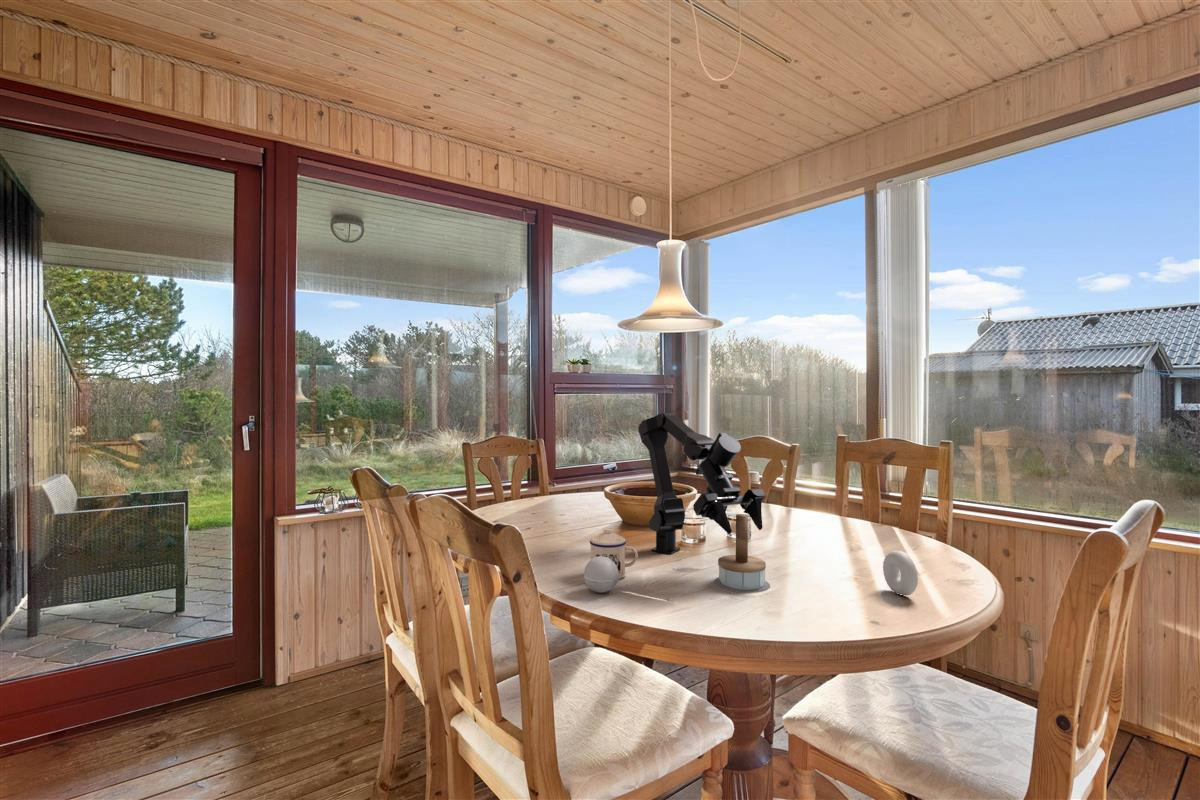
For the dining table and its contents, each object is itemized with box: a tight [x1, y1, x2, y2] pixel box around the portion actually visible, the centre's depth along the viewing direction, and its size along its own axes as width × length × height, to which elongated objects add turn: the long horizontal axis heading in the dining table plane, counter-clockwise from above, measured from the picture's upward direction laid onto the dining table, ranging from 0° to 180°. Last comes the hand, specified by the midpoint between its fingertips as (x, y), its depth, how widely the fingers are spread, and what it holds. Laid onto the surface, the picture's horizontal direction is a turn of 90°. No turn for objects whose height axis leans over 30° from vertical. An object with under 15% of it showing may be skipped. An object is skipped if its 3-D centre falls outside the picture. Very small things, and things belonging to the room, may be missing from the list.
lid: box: [717, 513, 767, 573], centre depth 135 cm, size 11×11×12 cm
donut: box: [882, 549, 919, 596], centre depth 128 cm, size 10×4×10 cm, turn 6°
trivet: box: [713, 576, 771, 594], centre depth 135 cm, size 13×13×1 cm
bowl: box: [718, 565, 766, 590], centre depth 135 cm, size 10×10×4 cm
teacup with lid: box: [589, 527, 639, 580], centre depth 141 cm, size 12×9×12 cm
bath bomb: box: [583, 556, 619, 594], centre depth 130 cm, size 8×8×8 cm
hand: (746, 531), depth 133 cm, fingers open, 9 cm apart
